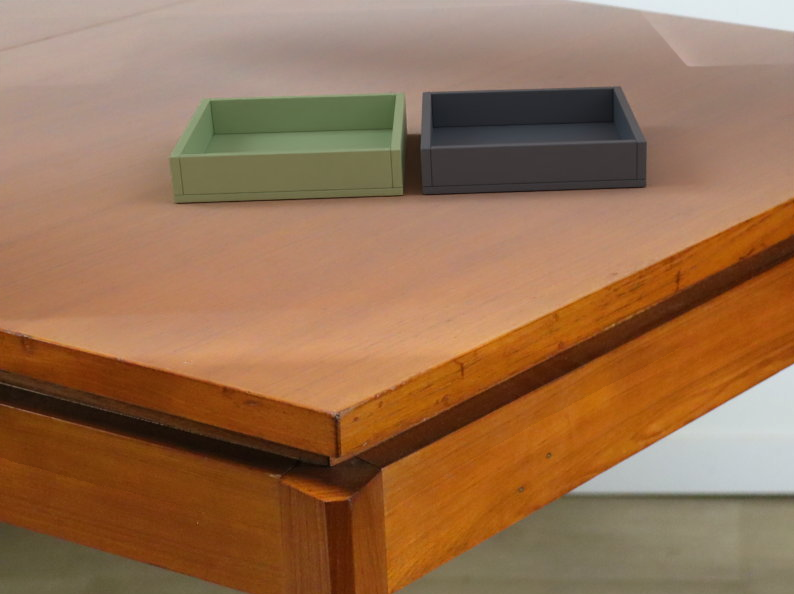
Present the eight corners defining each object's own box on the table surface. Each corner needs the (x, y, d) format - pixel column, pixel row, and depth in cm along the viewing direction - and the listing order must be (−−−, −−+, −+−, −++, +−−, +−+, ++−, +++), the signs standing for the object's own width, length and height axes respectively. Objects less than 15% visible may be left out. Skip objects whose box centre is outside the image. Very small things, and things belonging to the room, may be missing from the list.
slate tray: (422, 194, 77) (420, 148, 76) (424, 132, 88) (422, 91, 87) (646, 187, 78) (646, 141, 77) (620, 126, 89) (620, 85, 88)
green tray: (174, 203, 76) (168, 157, 75) (207, 139, 87) (202, 98, 86) (403, 195, 77) (400, 149, 76) (407, 133, 88) (405, 92, 87)
